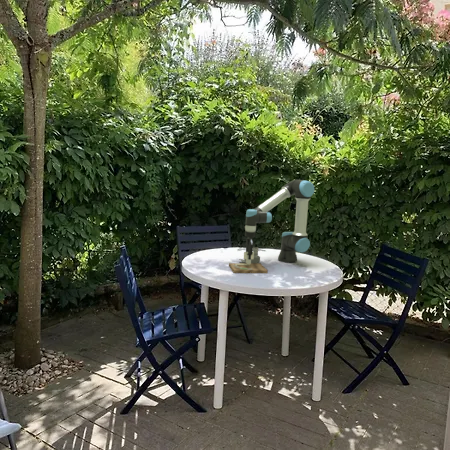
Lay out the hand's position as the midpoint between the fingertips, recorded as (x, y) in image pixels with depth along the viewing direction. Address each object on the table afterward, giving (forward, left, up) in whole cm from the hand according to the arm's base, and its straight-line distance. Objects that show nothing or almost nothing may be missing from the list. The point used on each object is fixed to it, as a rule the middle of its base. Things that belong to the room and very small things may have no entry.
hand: (248, 262), depth 302 cm
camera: (-5, -16, -4) cm, 17 cm away
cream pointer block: (+3, 0, -2) cm, 4 cm away
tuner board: (+1, +3, -4) cm, 5 cm away
